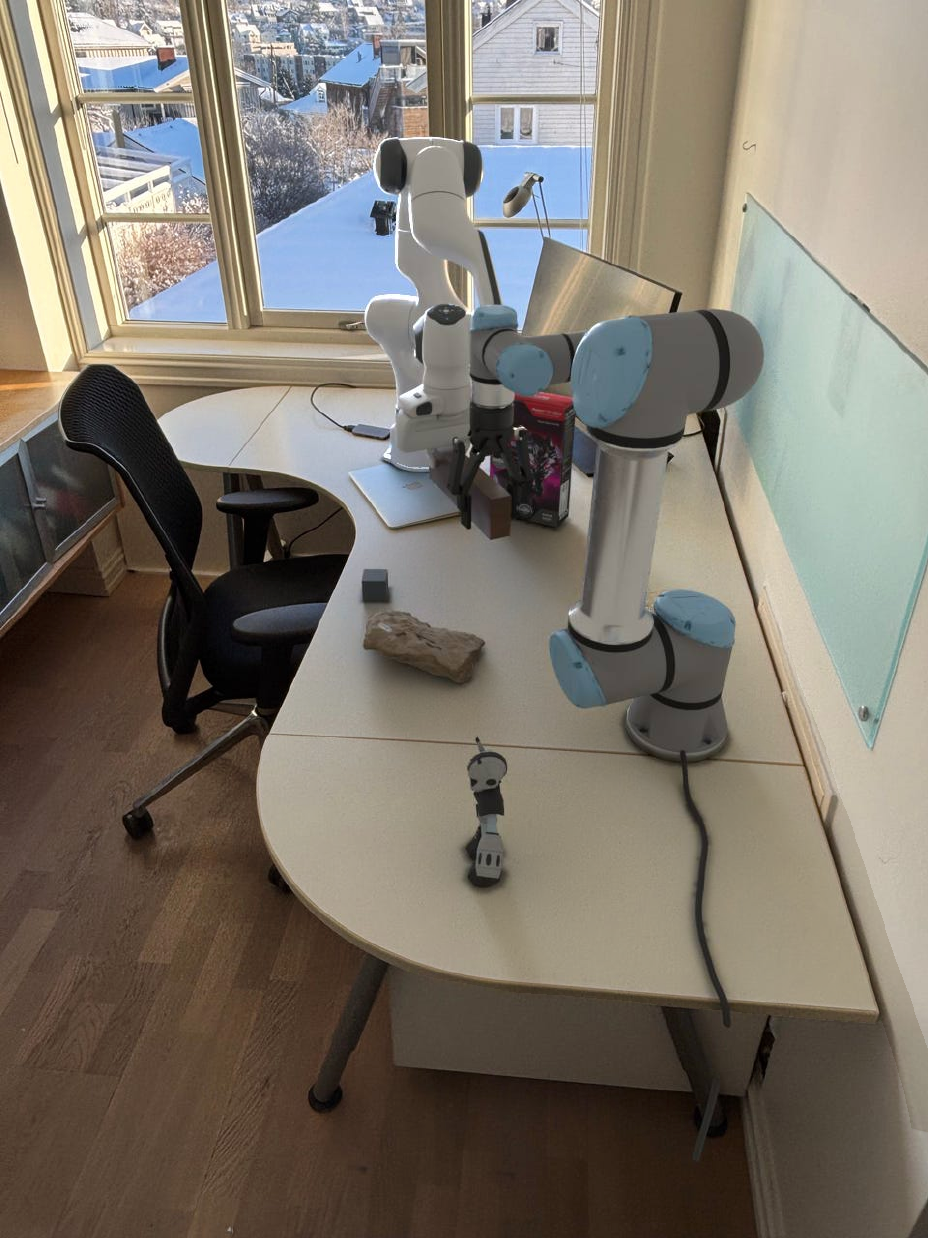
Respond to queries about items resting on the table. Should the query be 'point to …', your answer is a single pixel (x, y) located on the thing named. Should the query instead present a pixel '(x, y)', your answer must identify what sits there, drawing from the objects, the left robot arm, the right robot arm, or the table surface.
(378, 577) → the slate cube
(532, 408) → the graphics card box
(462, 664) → the stone
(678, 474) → the table surface
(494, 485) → the walnut bar
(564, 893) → the table surface
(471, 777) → the robot
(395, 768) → the table surface
